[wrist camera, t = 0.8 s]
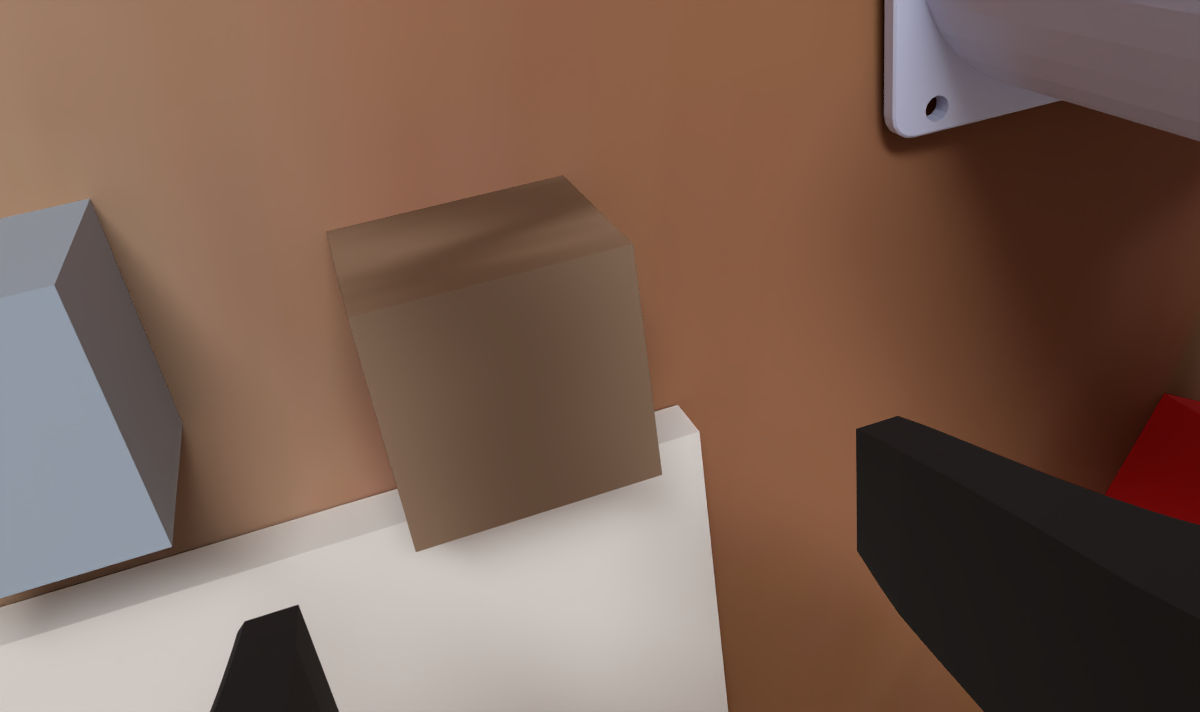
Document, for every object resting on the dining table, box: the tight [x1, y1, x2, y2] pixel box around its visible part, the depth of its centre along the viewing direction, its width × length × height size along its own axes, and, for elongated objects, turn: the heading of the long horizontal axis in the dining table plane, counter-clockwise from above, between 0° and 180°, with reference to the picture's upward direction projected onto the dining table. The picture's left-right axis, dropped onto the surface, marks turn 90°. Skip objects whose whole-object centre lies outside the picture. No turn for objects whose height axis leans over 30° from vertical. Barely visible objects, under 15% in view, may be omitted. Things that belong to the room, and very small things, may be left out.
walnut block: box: [326, 175, 662, 552], centre depth 18 cm, size 4×4×4 cm
